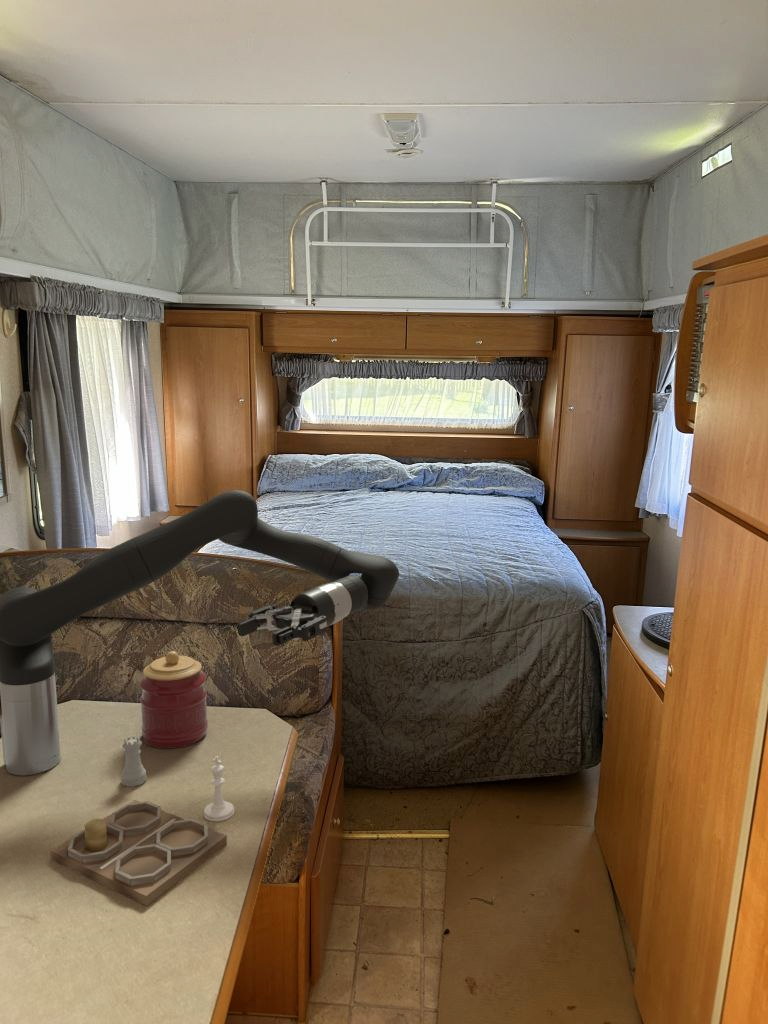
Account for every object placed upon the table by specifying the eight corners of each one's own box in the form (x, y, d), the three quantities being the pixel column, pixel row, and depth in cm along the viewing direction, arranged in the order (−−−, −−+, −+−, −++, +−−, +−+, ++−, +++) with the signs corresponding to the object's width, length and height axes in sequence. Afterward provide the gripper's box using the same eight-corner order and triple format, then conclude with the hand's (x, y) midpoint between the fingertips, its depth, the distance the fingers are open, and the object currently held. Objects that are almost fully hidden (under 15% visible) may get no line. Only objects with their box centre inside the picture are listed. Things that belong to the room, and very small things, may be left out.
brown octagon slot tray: (50, 859, 110) (48, 828, 109) (135, 808, 124) (133, 780, 123) (146, 905, 100) (145, 872, 100) (226, 844, 114) (225, 814, 113)
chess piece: (221, 801, 126) (219, 746, 125) (240, 811, 123) (238, 755, 122) (197, 814, 122) (195, 757, 121) (216, 825, 119) (214, 767, 118)
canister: (192, 752, 143) (189, 665, 140) (129, 747, 145) (125, 661, 142) (218, 723, 156) (215, 642, 153) (159, 718, 158) (156, 639, 155)
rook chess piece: (138, 789, 130) (136, 746, 129) (115, 786, 131) (113, 743, 130) (151, 776, 134) (149, 734, 133) (129, 773, 135) (127, 732, 134)
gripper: (292, 581, 140) (225, 607, 128) (349, 593, 132) (284, 621, 119) (295, 619, 142) (230, 648, 129) (352, 633, 133) (288, 665, 121)
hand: (256, 635), depth 124 cm, fingers open, 8 cm apart
